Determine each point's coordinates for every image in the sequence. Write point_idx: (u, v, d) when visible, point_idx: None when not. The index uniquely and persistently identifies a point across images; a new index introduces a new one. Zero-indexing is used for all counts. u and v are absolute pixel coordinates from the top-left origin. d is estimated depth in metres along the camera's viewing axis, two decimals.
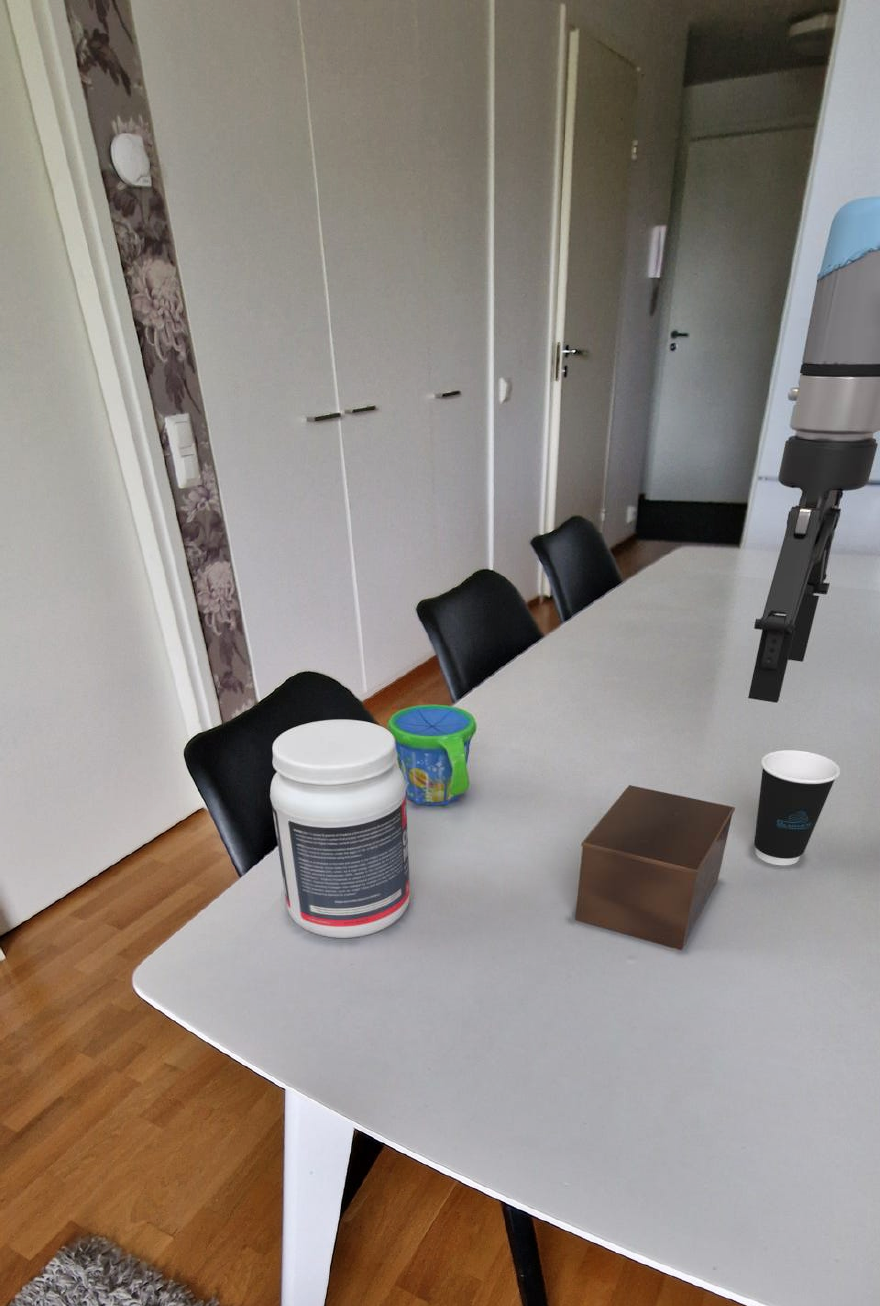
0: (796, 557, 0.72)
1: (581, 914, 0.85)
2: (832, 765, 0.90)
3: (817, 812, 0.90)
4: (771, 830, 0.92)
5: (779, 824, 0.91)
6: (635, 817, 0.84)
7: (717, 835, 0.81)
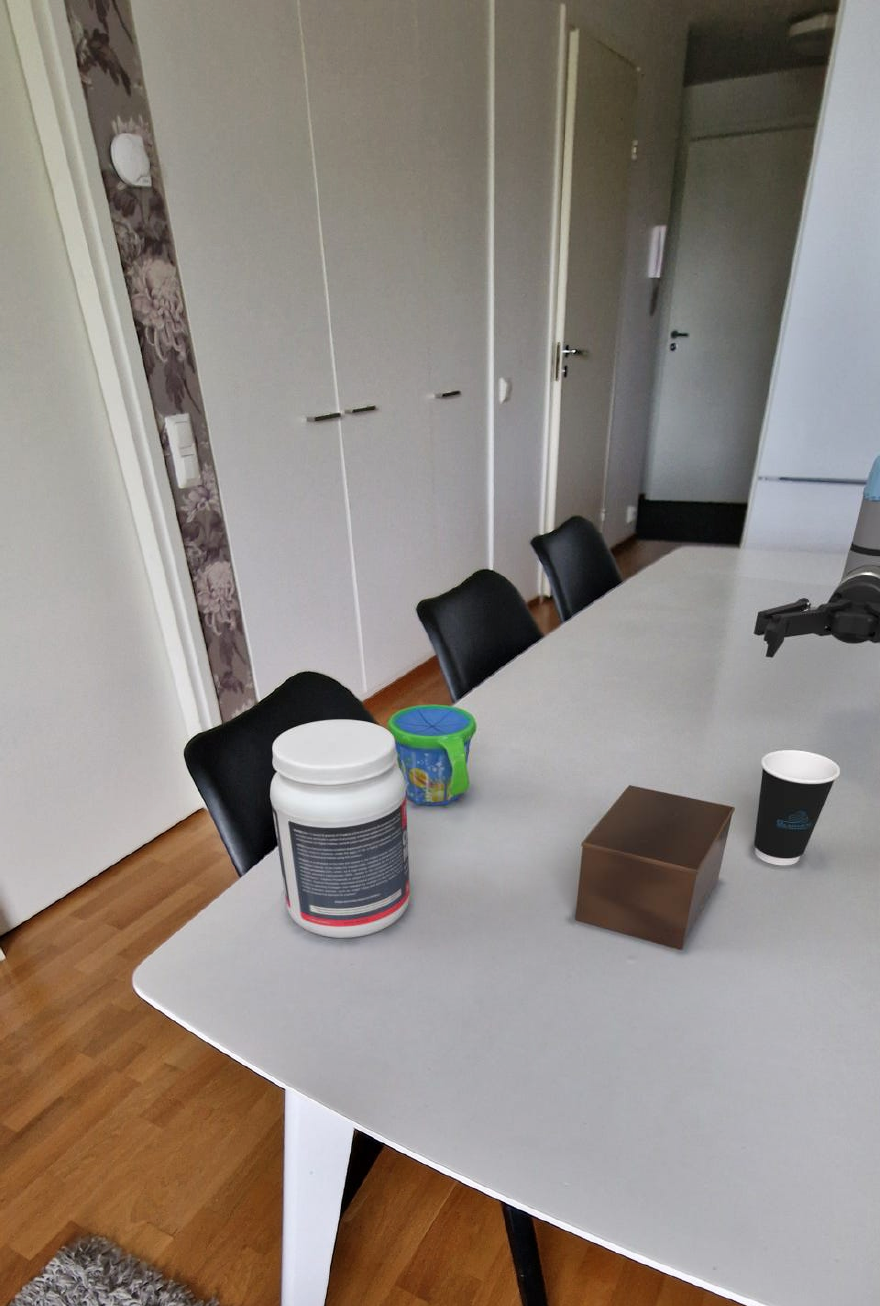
0: None
1: (581, 914, 0.85)
2: (832, 765, 0.90)
3: (817, 812, 0.90)
4: (771, 830, 0.92)
5: (779, 824, 0.91)
6: (635, 817, 0.84)
7: (717, 835, 0.81)
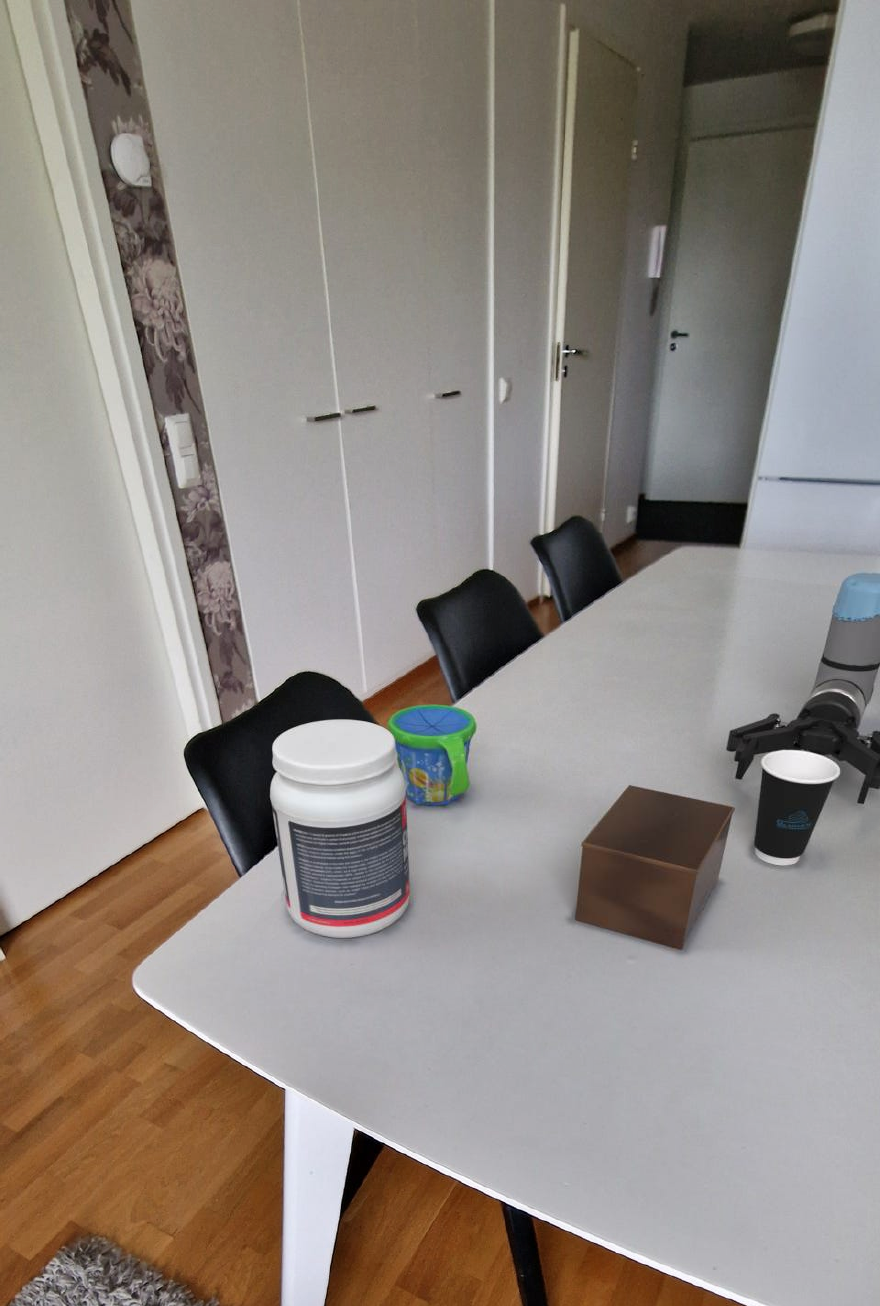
0: None
1: (581, 914, 0.85)
2: (832, 765, 0.90)
3: (817, 812, 0.90)
4: (771, 830, 0.92)
5: (779, 824, 0.91)
6: (635, 817, 0.84)
7: (717, 835, 0.81)
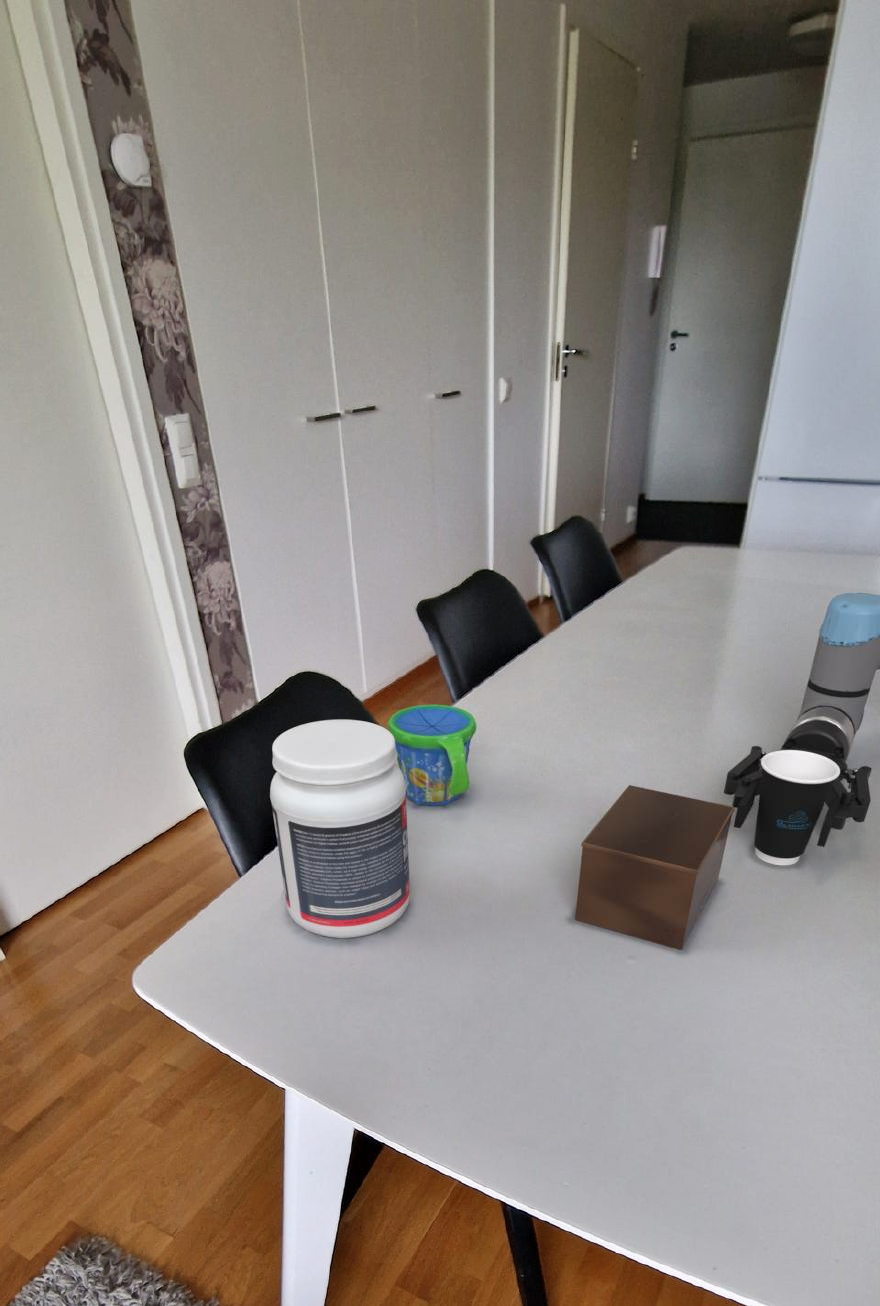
0: None
1: (581, 914, 0.85)
2: (832, 765, 0.90)
3: (817, 812, 0.90)
4: (771, 830, 0.92)
5: (778, 824, 0.91)
6: (635, 817, 0.84)
7: (717, 835, 0.81)
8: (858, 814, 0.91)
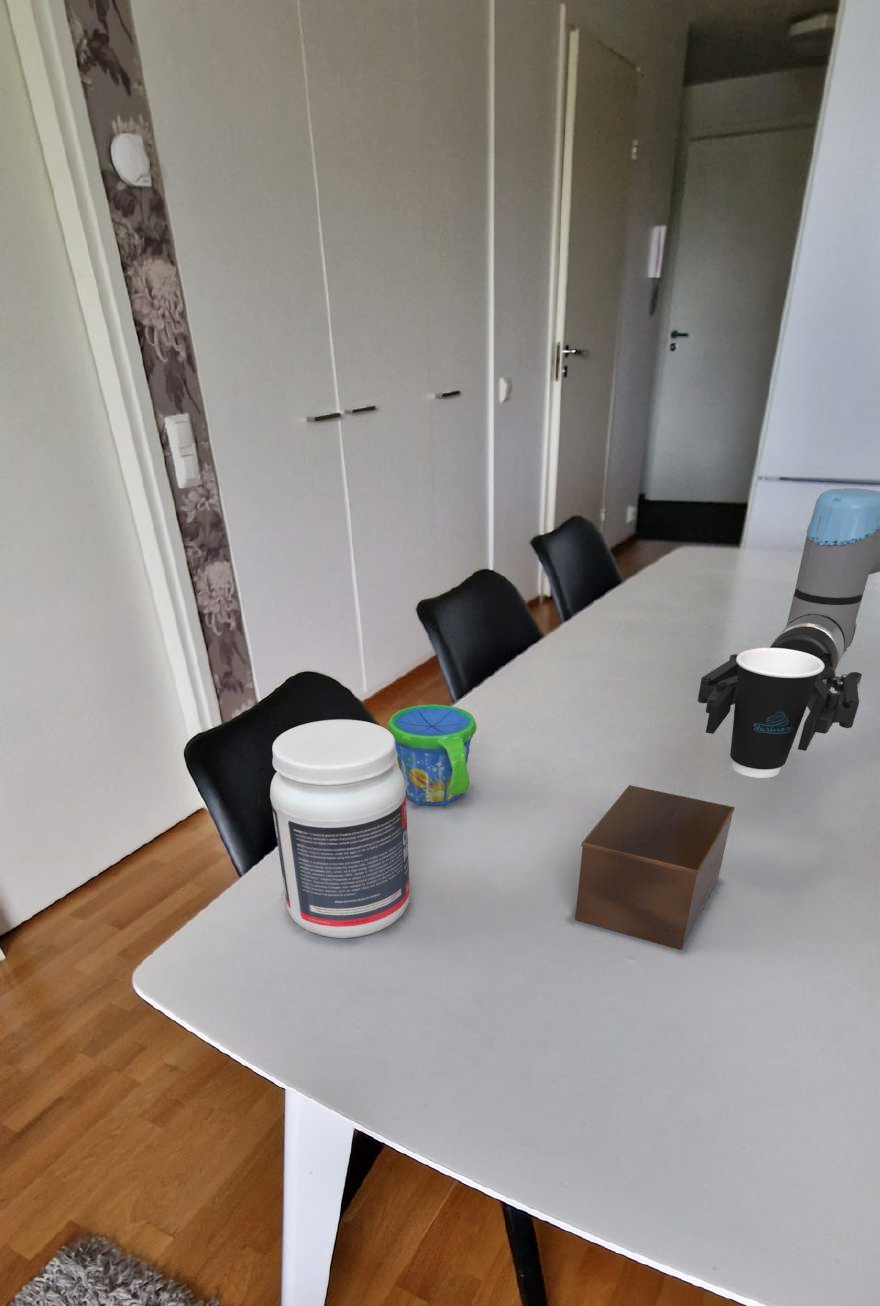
0: None
1: (581, 914, 0.85)
2: (816, 661, 0.80)
3: (799, 714, 0.80)
4: (748, 736, 0.82)
5: (756, 728, 0.81)
6: (635, 817, 0.84)
7: (717, 835, 0.81)
8: (845, 718, 0.82)
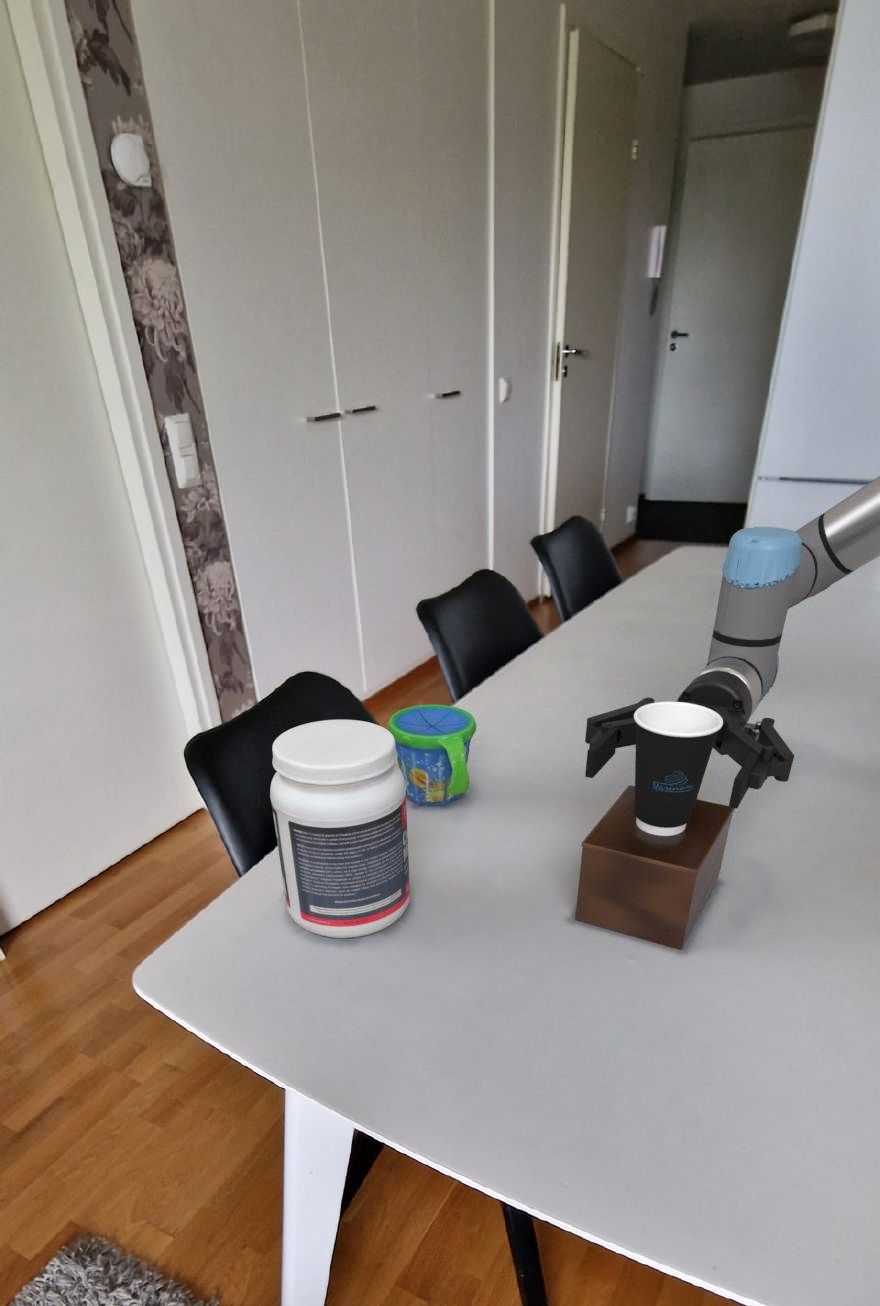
0: None
1: (581, 914, 0.85)
2: (716, 717, 0.77)
3: (698, 772, 0.77)
4: (648, 794, 0.79)
5: (655, 786, 0.78)
6: (635, 817, 0.84)
7: (717, 835, 0.81)
8: (783, 772, 0.79)
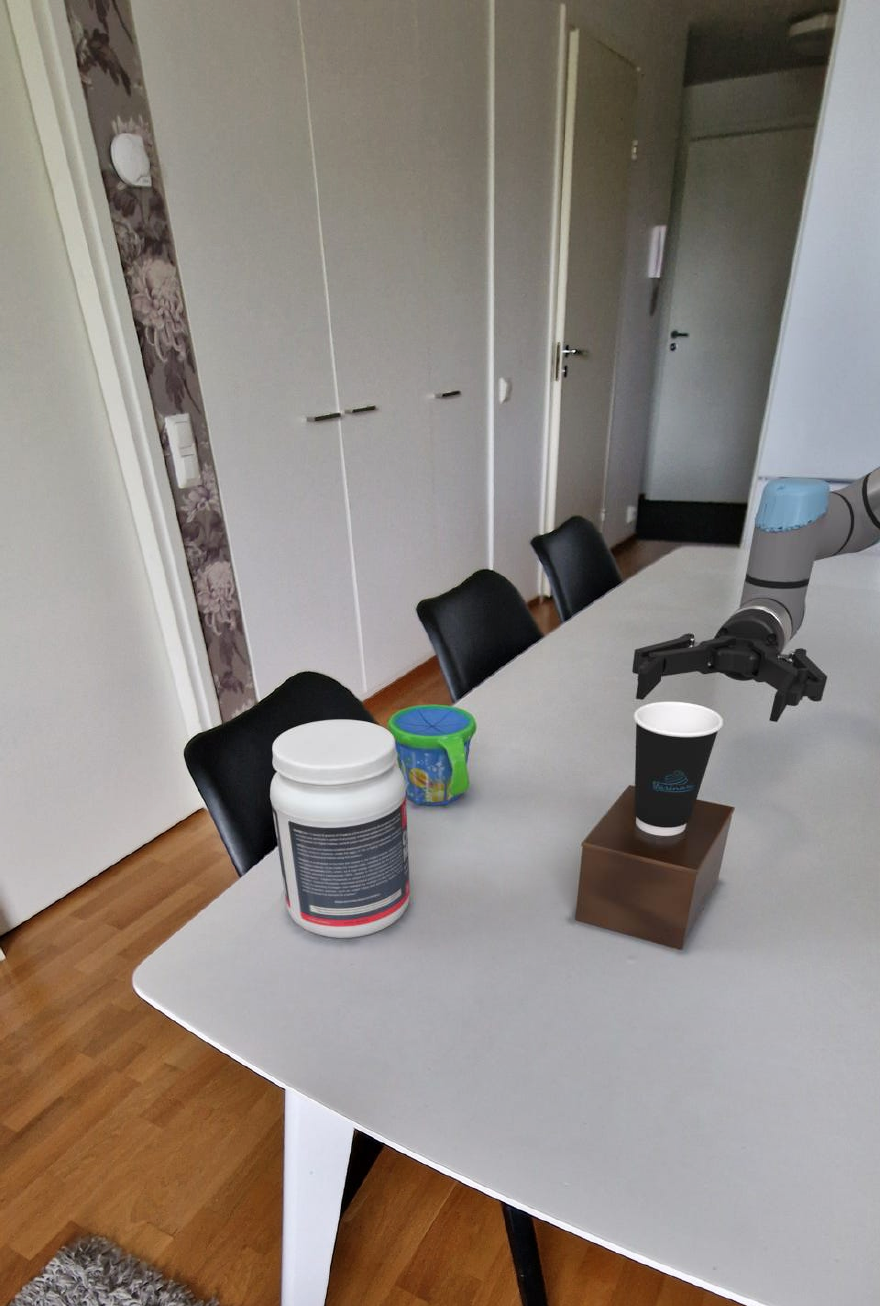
0: None
1: (581, 914, 0.85)
2: (716, 717, 0.77)
3: (698, 772, 0.77)
4: (648, 794, 0.79)
5: (655, 786, 0.78)
6: (635, 817, 0.84)
7: (717, 835, 0.81)
8: (817, 692, 0.86)
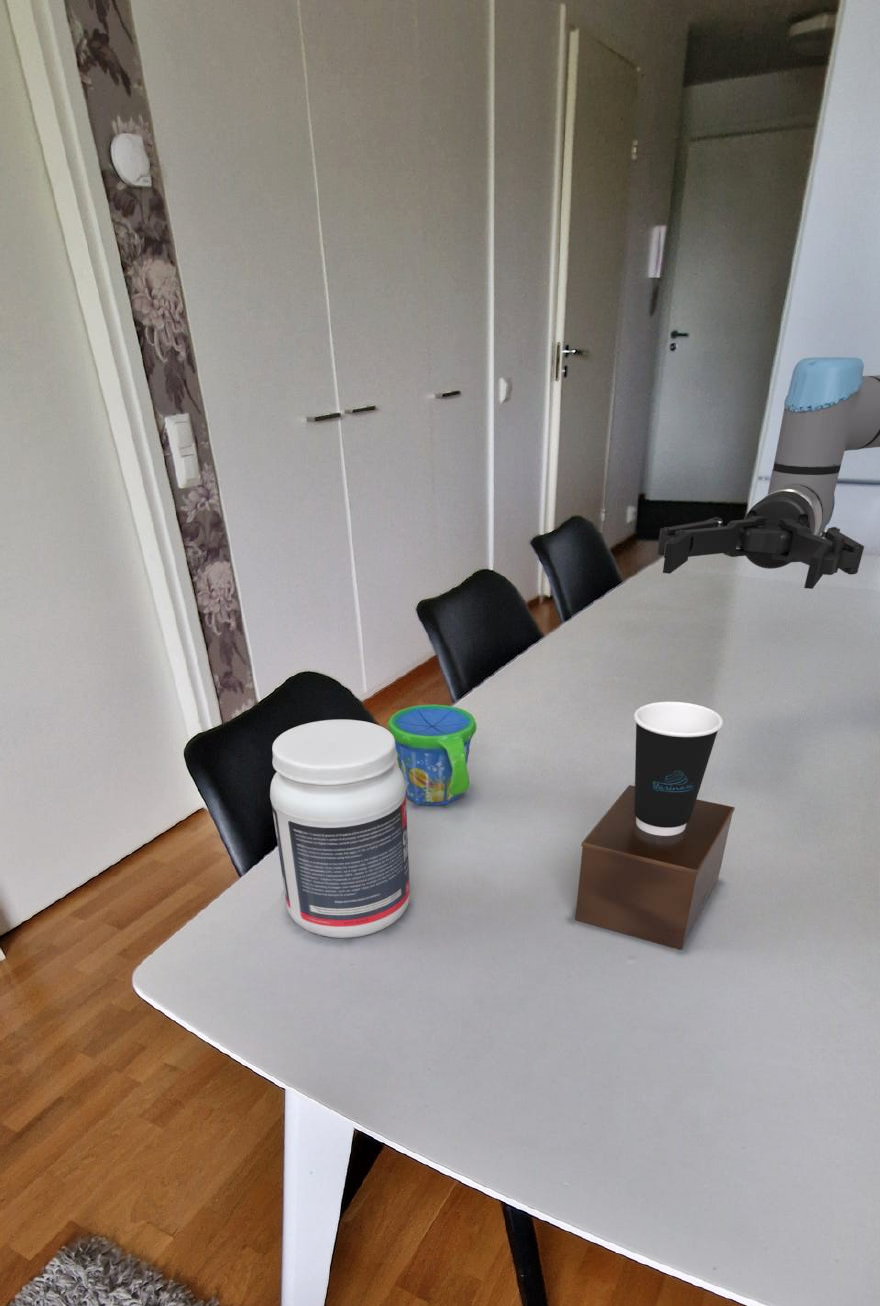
0: None
1: (581, 914, 0.85)
2: (715, 717, 0.77)
3: (698, 772, 0.77)
4: (648, 794, 0.79)
5: (655, 786, 0.78)
6: (635, 817, 0.84)
7: (717, 835, 0.81)
8: (853, 563, 0.83)
